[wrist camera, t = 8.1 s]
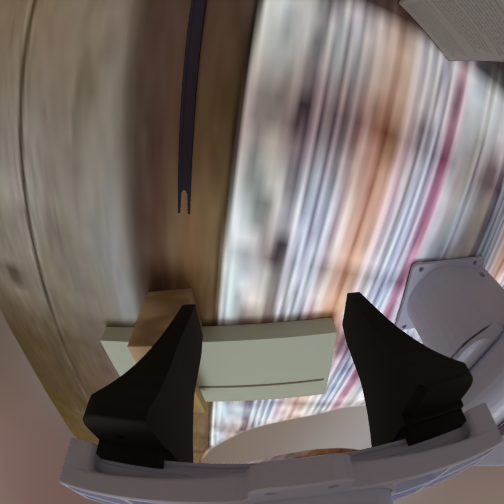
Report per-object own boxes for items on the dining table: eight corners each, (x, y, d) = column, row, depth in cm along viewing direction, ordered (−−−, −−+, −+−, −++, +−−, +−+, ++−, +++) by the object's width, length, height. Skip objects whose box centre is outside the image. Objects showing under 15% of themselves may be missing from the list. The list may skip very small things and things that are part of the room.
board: (332, 317, 27) (337, 332, 25) (321, 379, 32) (325, 394, 30) (106, 326, 27) (99, 341, 25) (137, 385, 32) (133, 398, 30)
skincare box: (470, 35, 14) (585, 40, 3) (447, 62, 15) (572, 74, 5) (421, -23, 12) (528, -58, 1) (394, 1, 13) (509, -39, 3)
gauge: (191, 288, 25) (179, 345, 19) (219, 377, 31) (216, 427, 25) (148, 291, 25) (127, 346, 19) (184, 378, 31) (177, 427, 25)
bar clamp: (141, -116, 6) (284, -122, 6) (149, -104, 8) (280, -107, 8) (113, 268, 23) (236, 279, 23) (123, 252, 25) (236, 262, 25)
